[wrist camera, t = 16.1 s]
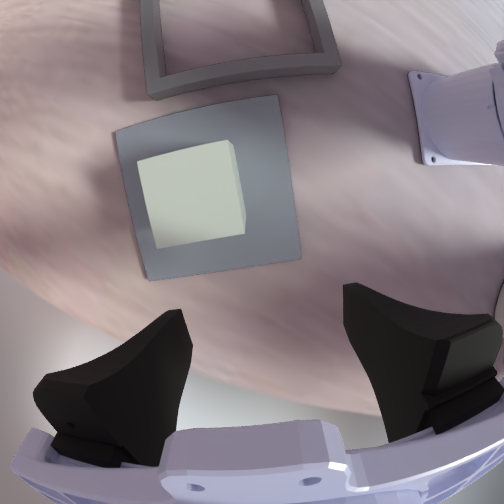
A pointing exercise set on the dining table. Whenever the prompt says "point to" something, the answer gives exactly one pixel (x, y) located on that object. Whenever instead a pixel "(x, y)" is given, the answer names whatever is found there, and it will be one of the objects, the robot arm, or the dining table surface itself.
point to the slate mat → (251, 178)
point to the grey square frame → (238, 70)
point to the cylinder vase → (500, 309)
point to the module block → (193, 194)
